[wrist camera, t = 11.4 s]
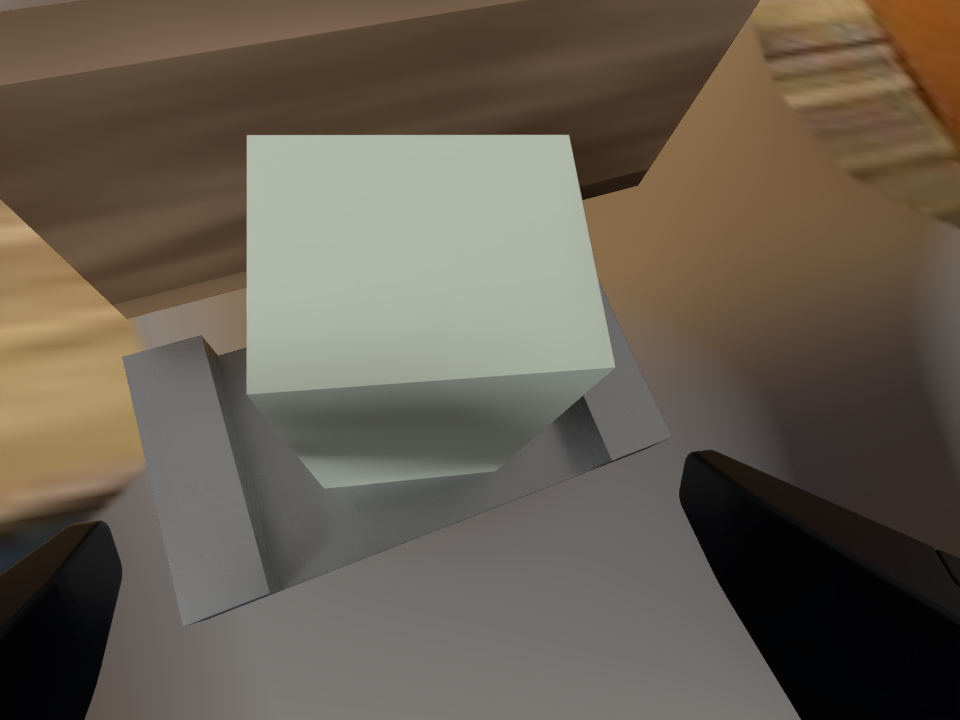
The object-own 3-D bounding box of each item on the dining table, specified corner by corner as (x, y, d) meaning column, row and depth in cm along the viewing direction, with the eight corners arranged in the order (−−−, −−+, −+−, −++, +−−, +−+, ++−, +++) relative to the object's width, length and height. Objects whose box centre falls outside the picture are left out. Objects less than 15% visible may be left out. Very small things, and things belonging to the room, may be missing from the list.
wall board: (637, 185, 22) (788, -43, 14) (127, 318, 18) (-102, 102, 10) (603, 118, 23) (725, -137, 15) (106, 229, 19) (-122, -43, 10)
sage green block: (521, 468, 18) (667, 363, 9) (324, 488, 17) (246, 395, 8) (504, 344, 19) (615, 134, 10) (319, 356, 18) (246, 135, 9)
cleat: (644, 449, 19) (672, 436, 17) (207, 619, 16) (183, 626, 14) (559, 261, 21) (576, 232, 19) (150, 379, 18) (122, 356, 16)
